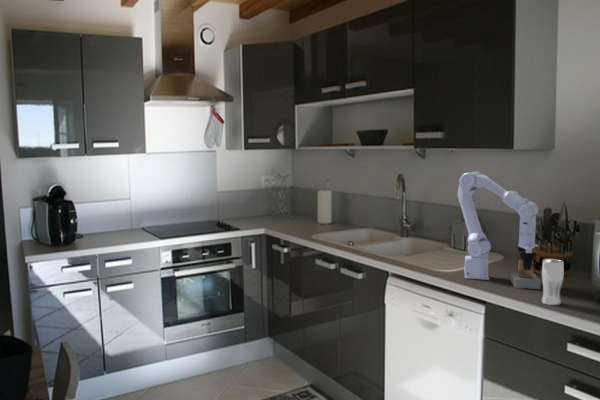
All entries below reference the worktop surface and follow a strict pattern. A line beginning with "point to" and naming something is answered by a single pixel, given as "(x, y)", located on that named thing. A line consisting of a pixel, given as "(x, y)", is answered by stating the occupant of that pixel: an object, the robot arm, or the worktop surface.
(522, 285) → the slate block
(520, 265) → the walnut block
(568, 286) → the worktop surface
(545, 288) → the beer glass
